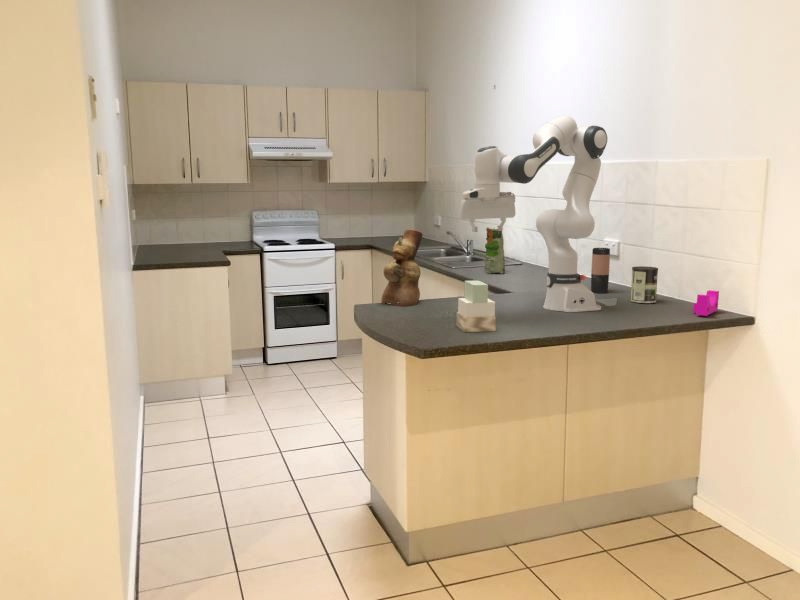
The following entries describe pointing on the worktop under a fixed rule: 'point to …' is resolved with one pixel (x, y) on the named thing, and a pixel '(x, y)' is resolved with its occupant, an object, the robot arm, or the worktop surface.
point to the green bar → (476, 291)
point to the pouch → (494, 252)
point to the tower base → (476, 323)
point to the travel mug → (600, 270)
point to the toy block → (706, 303)
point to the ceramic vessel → (403, 272)
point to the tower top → (476, 308)
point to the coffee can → (644, 284)
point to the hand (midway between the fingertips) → (487, 231)
